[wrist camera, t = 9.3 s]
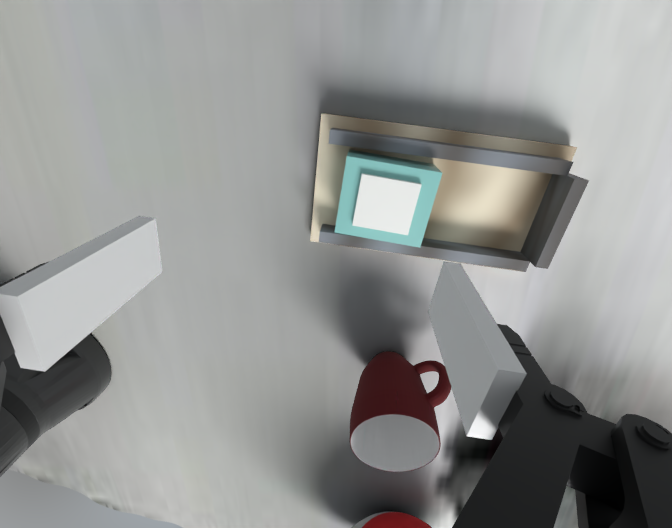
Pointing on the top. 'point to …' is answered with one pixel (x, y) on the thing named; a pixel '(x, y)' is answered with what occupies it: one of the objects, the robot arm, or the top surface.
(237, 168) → the top surface
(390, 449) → the mug
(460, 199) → the rail mount
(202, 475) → the top surface
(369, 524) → the decorative sphere
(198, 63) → the top surface
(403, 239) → the block
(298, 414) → the top surface
